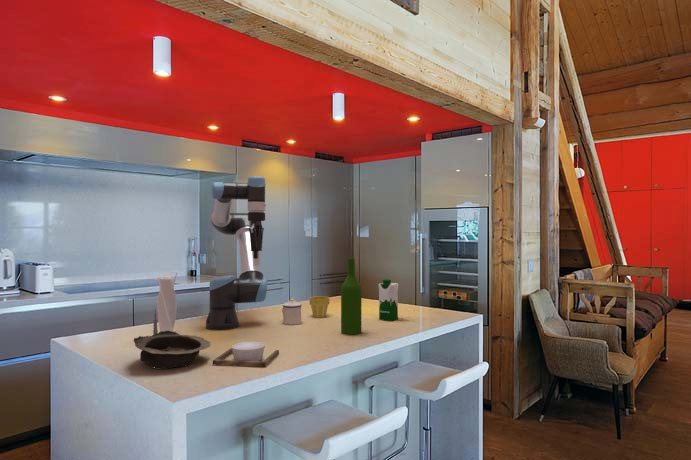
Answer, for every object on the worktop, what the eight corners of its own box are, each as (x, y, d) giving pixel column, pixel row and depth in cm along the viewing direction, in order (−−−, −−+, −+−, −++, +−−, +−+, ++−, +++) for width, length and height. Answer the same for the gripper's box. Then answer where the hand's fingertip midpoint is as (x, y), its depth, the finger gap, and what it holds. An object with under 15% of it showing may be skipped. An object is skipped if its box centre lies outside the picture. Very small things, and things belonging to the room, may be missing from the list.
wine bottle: (365, 332, 196) (365, 258, 196) (352, 336, 190) (351, 259, 189) (350, 329, 202) (350, 257, 202) (336, 332, 196) (336, 258, 195)
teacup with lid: (305, 323, 216) (305, 298, 216) (290, 325, 210) (290, 301, 210) (290, 319, 225) (290, 296, 225) (275, 322, 218) (275, 298, 218)
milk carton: (376, 320, 223) (376, 279, 223) (385, 316, 231) (385, 278, 231) (392, 321, 218) (392, 281, 218) (400, 318, 226) (400, 279, 226)
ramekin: (228, 358, 158) (228, 343, 158) (259, 354, 163) (259, 339, 163) (235, 367, 148) (235, 351, 148) (268, 362, 153) (268, 347, 153)
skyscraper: (172, 336, 190) (172, 270, 190) (180, 340, 184) (180, 272, 184) (152, 340, 184) (152, 272, 184) (160, 343, 178) (160, 273, 178)
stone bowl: (124, 359, 155) (127, 332, 156) (197, 353, 170) (198, 328, 170) (139, 377, 135) (141, 346, 136) (219, 369, 150) (221, 341, 150)
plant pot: (311, 314, 238) (311, 295, 238) (330, 314, 237) (330, 296, 237) (307, 318, 228) (307, 298, 228) (327, 318, 227) (327, 299, 227)
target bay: (212, 364, 150) (212, 360, 150) (230, 352, 165) (230, 348, 165) (265, 367, 147) (265, 362, 147) (278, 354, 162) (278, 350, 162)
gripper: (259, 211, 188) (259, 267, 188) (269, 212, 201) (269, 264, 201) (242, 211, 189) (242, 267, 189) (253, 212, 202) (253, 264, 202)
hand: (256, 265), depth 195 cm, fingers closed
